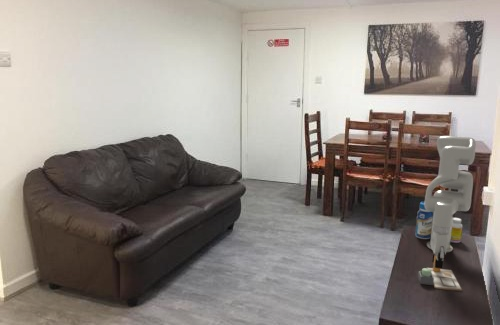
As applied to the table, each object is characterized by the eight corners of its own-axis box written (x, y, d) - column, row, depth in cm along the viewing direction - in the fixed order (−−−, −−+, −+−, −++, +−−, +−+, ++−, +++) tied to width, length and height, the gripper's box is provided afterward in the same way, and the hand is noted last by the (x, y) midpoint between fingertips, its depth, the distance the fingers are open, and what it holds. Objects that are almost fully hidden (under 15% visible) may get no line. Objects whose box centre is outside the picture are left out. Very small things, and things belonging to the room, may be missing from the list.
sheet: (426, 268, 197) (426, 266, 197) (451, 271, 195) (451, 269, 195) (434, 288, 179) (435, 286, 179) (462, 291, 177) (462, 289, 176)
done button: (420, 275, 187) (421, 267, 186) (429, 276, 186) (430, 268, 185) (421, 279, 183) (422, 271, 182) (431, 280, 182) (432, 272, 181)
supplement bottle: (462, 243, 226) (465, 221, 224) (449, 242, 228) (451, 220, 225) (458, 239, 233) (461, 217, 230) (446, 238, 234) (448, 216, 231)
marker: (432, 268, 196) (434, 249, 193) (439, 269, 195) (442, 249, 192) (433, 271, 193) (435, 252, 190) (441, 272, 192) (443, 253, 189)
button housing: (417, 277, 188) (418, 270, 187) (430, 279, 187) (431, 272, 186) (420, 283, 183) (420, 276, 182) (433, 285, 182) (433, 277, 181)
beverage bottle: (424, 233, 241) (427, 200, 236) (434, 238, 233) (438, 204, 228) (411, 234, 238) (415, 201, 234) (421, 240, 230) (425, 206, 226)
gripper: (429, 221, 198) (425, 256, 202) (436, 234, 182) (432, 272, 186) (445, 222, 197) (441, 258, 200) (455, 236, 180) (450, 274, 184)
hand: (437, 264), depth 193 cm, fingers open, 4 cm apart
